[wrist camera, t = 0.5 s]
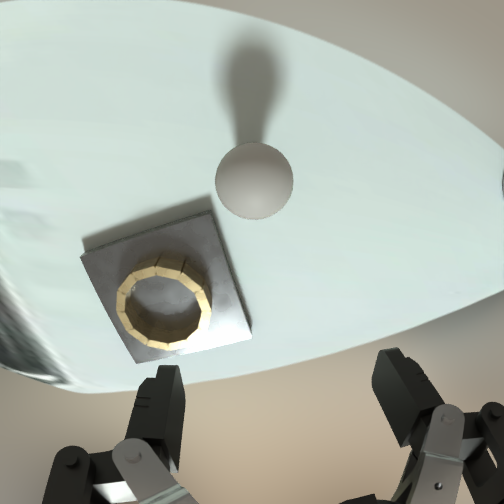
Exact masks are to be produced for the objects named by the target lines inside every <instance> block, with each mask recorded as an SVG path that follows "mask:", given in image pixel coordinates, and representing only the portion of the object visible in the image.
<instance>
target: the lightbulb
mask: <svg viewBox="0 0 504 504" xmlns="http://www.w3.org/2000/svg"><path fill="white" fill-rule="evenodd" d="M215 186H216V191H217V194H218V197H219V199H220V200H221V202H222V204H223V205H224V206H225V207H226V208H227V209H228V210H229V211H231V212H232V213H233V214H235V215H237V216H239V217H241V218H245V219H251V220H258V219H264V218H267V217H270V216H272V215H274V214H276V213H277V212H278V211H280V210H281V209H282V208H283V207H284V206H285V204H286V203H287V201H288V200H289V198H290V196H291V193H292V190H293V173H292V170H291V166H290V164H289V162H288V161H287V159H286V158H285V157H284V155H283V154H282V153H281V152H279V151H278V150H277V149H275V148H273V147H271V146H270V145H266V144H263V143H255V142H253V143H245V144H242V145H239V146H237V147H235V148H233V149H232V150H230V151H229V152H228V153H227V154H226V155H225V156H224V157H223V159H222V160H221V162H220V164H219V166H218V168H217V172H216V176H215Z"/></svg>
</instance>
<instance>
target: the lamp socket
mask: <svg viewBox="0 0 504 504" xmlns="http://www.w3.org/2000/svg"><path fill="white" fill-rule="evenodd" d="M80 259H81V261H82V263H83V265H84V267H85V269H86V272H87V274H88V276H89V278H90V280H91V282H92V284H93V286H94V288H95V290H96V292H97V294H98V296H99V298H100V300H101V302H102V304H103V306H104V308H105V310H106V312H107V314H108V316H109V317H110V319H111V321H112V323H113V325H114V327H115V328H116V330H117V332H118V334H119V335H120V337H121V339H122V341H123V342H124V344H125V346H126V348H127V349H128V351H129V353H130V354H131V356H132V358H133V359H134V361H135V362H136V364H138V363H143V362H148V361H154V360H159V359H164V358H168V357H173V356H178V355H183V354H187V353H192V352H196V351H201V350H205V349H209V348H214V347H218V346H222V345H226V344H230V343H234V342H238V341H242V340H246V339H250V338H252V331H251V328H250V325H249V322H248V320H247V317H246V314H245V311H244V308H243V305H242V302H241V299H240V297H239V294H238V291H237V288H236V285H235V282H234V279H233V276H232V273H231V270H230V267H229V264H228V262H227V259H226V256H225V253H224V250H223V247H222V244H221V241H220V238H219V235H218V232H217V229H216V226H215V223H214V220H213V216H212V213H211V210H210V211H206V212H203V213H200V214H197V215H194V216H190V217H187V218H184V219H181V220H178V221H175V222H171V223H168V224H165V225H162V226H159V227H156V228H153V229H150V230H147V231H144V232H141V233H138V234H135V235H132V236H129V237H126V238H123V239H120V240H118V241H115V242H112V243H109V244H106V245H103V246H101V247H98V248H95V249H92V250H89V251H87V252H84V253H83V254H82V255H81V256H80Z"/></svg>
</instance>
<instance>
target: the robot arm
mask: <svg viewBox="0 0 504 504" xmlns="http://www.w3.org/2000/svg"><path fill="white" fill-rule="evenodd" d="M503 195H504V178H503ZM372 388H373V391H374V393H375V395H376V397H377V399H378V401H379V403H380V405H381V407H382V409H383V411H384V414H385V416H386V418H387V420H388V422H389V424H390V426H391V428H392V430H393V432H394V435H395V437H396V439H397V441H398V443H399V445H400V447H405V446H408V445H410V446H411V448H412V450H411V452H410V454H409V457H408V460H407V463H406V466H405V469H404V472H403V475H402V477H401V480H400V483H399V485H398V488H397V490H396V492H395V493H394V495H393V497H392V498H391V500H390V501H387V500H376V497H375V494H370V495H367V496H363V497H359V498H355V499H350V500H346V501H344V502H342V503H340V504H455V501H456V497H457V493H458V489H459V485H460V480H461V475H462V474H463V477H464V480H465V482H466V484H467V486H468V489H469V491H470V493H471V496H472V498H473V500H474V503H475V504H504V406H503V405H501V404H500V403H497V402H488V403H486V404H485V405H484V406H483V407H482V409H481V410H480V412H471V413H463V412H462V411H461V410H460V409H459V408H458V407H456V406H454V405H451V404H445V403H444V401H443V400H442V398H441V396H440V395H439V393H438V392H437V390H436V389H435V387H434V386H433V385H432V383H431V382H430V380H428V377H427V376H426V374H424V371H423V370H422V368H421V367H420V366H419V364H418V363H416V362H415V361H414V360H412V359H411V358H410V357H407V358H405V357H404V355H403V354H402V352H401V351H400V349H399V348H397V347H396V348H391V349H384V350H380V351H379V353H378V356H377V360H376V364H375V368H374V372H373V375H372ZM184 413H185V391H184V387H183V383H182V378H181V373H180V369H179V366H178V365H159V367H158V370H157V374H156V378H146V379H145V380H144V381H143V383H142V384H141V385H140V386H139V389H138V392H137V396H136V399H135V403H134V407H133V410H132V414H131V417H130V421H129V425H128V429H127V433H126V436H125V439H124V440H123V441H121V442H120V443H118V444H117V445H116V446H115V447H114V449H113V450H110V451H106V452H100V453H92V454H88V453H87V452H86V451H85V450H84V449H83V448H81V447H78V446H68V447H65V448H63V449H61V450H60V451H59V452H58V453H57V454H56V456H55V459H54V462H53V465H52V468H51V472H50V475H49V479H48V482H47V486H46V490H45V494H44V498H43V501H42V504H117V503H120V502H127V501H134V500H138V502H139V503H140V504H199V503H198V502H197V501H196V500H195V499H194V498H193V497H192V496H191V494H190V493H189V492H188V491H187V490H186V489H185V488H184V487H181V486H180V485H179V483H178V482H177V481H176V480H175V479H174V477H173V476H172V475H171V474H170V472H173V473H178V469H179V459H180V449H181V440H182V430H183V421H184ZM487 448H489V449H490V450H491V452H492V454H493V456H494V458H495V460H496V462H497V468H496V466H495V464H494V462H493V460H492V459H491V457H490V455H489V453H488V451H487Z"/></svg>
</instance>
